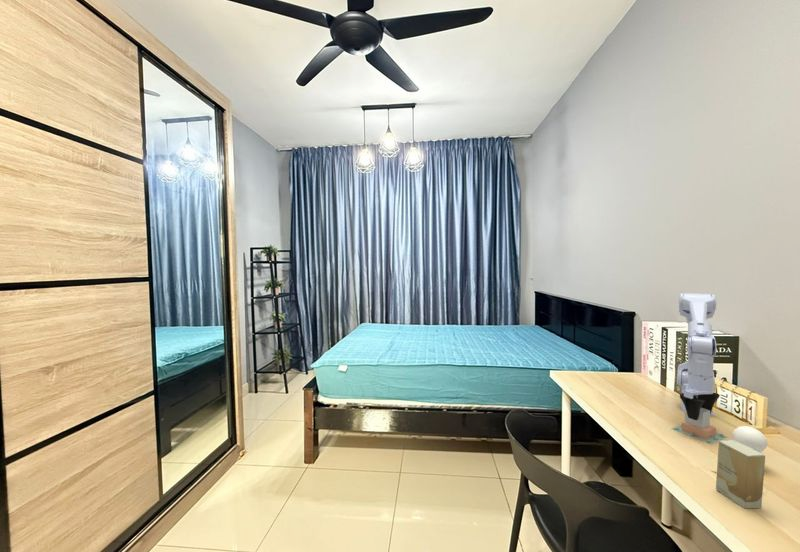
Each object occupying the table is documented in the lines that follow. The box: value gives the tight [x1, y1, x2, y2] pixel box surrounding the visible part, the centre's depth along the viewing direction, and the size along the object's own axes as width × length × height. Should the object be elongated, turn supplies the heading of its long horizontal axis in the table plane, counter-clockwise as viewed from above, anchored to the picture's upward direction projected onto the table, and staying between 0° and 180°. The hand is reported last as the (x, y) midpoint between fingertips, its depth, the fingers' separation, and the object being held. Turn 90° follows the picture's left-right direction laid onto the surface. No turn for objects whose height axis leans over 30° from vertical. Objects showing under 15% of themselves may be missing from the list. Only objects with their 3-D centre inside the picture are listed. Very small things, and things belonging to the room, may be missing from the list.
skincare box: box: [715, 439, 766, 510], centre depth 72 cm, size 6×4×12 cm
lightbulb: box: [732, 425, 768, 454], centre depth 83 cm, size 6×6×11 cm
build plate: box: [671, 424, 728, 445], centre depth 100 cm, size 10×10×1 cm
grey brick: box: [684, 408, 711, 429], centre depth 100 cm, size 4×4×5 cm
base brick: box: [681, 421, 717, 439], centre depth 100 cm, size 6×6×2 cm
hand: (699, 416), depth 100 cm, fingers open, 7 cm apart
